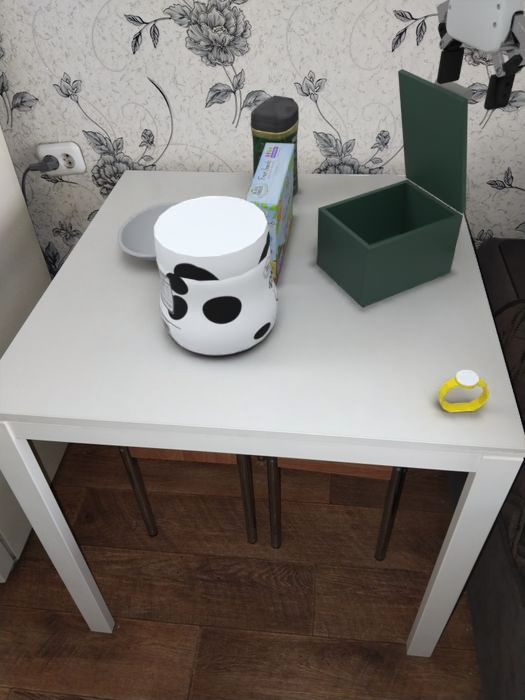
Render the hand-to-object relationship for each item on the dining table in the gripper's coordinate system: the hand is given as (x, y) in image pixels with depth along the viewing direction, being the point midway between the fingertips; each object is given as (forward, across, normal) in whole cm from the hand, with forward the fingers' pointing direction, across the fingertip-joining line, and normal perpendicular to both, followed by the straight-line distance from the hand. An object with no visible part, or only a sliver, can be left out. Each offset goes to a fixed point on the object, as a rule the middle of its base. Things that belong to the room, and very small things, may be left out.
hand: (470, 94), depth 75 cm
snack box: (+30, +21, +19) cm, 42 cm away
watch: (+31, -24, +12) cm, 40 cm away
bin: (+30, +7, +5) cm, 31 cm away
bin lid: (+10, +8, -1) cm, 13 cm away
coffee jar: (+30, +38, +11) cm, 50 cm away
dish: (+30, +28, +37) cm, 55 cm away
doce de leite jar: (+30, +5, +35) cm, 46 cm away
